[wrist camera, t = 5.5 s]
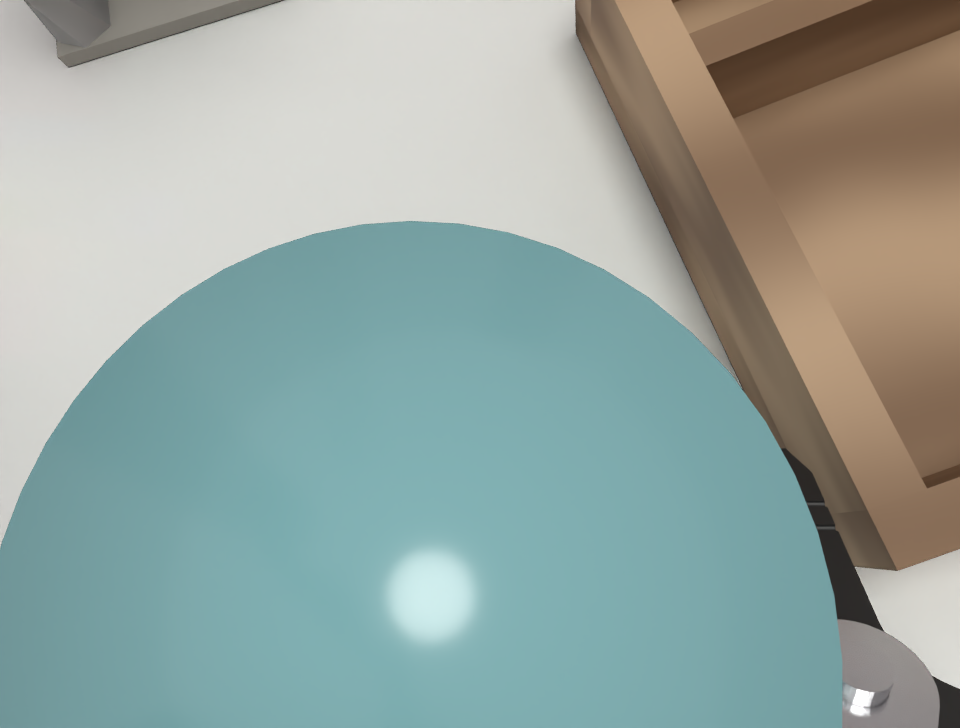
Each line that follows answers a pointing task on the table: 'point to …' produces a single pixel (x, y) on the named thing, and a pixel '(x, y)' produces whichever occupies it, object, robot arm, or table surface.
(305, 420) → the teal dome-topped cylinder
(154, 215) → the table surface
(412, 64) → the table surface
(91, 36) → the skyscraper
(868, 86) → the tray
